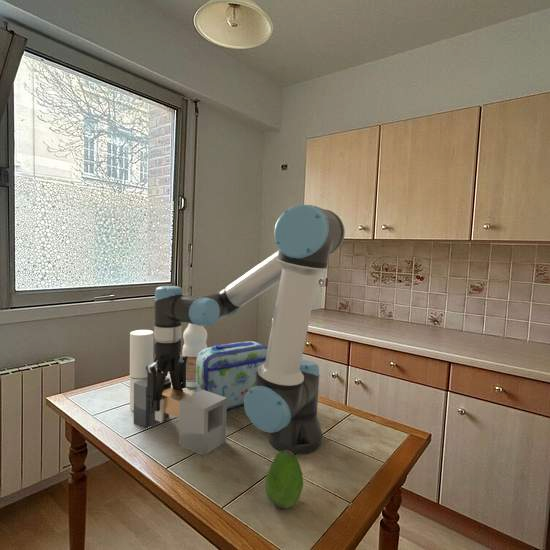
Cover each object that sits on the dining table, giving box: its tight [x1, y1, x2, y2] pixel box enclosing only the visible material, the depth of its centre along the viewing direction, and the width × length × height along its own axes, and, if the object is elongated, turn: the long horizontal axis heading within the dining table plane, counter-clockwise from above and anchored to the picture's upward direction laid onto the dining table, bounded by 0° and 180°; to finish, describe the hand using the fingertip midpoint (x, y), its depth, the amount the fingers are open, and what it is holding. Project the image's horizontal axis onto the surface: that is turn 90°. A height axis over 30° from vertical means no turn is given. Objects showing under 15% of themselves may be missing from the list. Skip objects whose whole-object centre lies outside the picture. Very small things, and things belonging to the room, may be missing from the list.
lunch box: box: [195, 340, 268, 410], centre depth 127 cm, size 26×11×21 cm, turn 123°
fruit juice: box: [181, 323, 208, 389], centre depth 143 cm, size 9×9×28 cm
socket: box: [133, 376, 171, 430], centre depth 113 cm, size 6×9×13 cm, turn 147°
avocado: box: [264, 450, 304, 509], centre depth 79 cm, size 8×8×12 cm
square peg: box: [149, 380, 191, 419], centre depth 108 cm, size 21×7×7 cm, turn 57°
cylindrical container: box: [129, 329, 154, 412], centre depth 121 cm, size 7×7×25 cm
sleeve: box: [178, 390, 228, 457], centre depth 101 cm, size 9×9×13 cm
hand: (167, 416), depth 109 cm, fingers closed on square peg, 5 cm apart
